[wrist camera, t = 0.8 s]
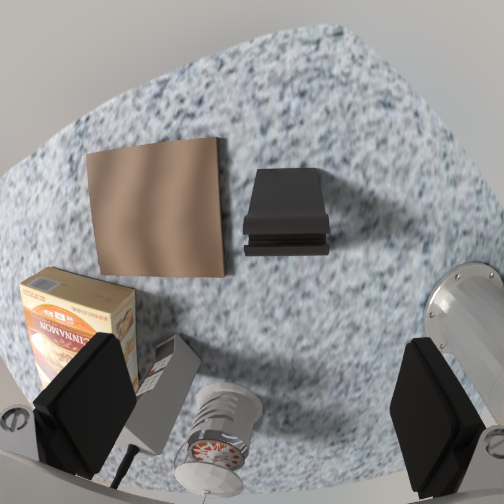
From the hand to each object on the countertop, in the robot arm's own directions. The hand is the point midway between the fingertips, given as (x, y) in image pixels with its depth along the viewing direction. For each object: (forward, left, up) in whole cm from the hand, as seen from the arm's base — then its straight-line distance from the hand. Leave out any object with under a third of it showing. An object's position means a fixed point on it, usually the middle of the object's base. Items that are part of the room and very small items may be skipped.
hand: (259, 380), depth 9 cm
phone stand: (-1, -1, -26) cm, 26 cm away
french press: (+8, +27, -26) cm, 38 cm away
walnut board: (+14, -1, -26) cm, 29 cm away
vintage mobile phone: (+13, +17, -26) cm, 34 cm away
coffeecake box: (+25, +7, -22) cm, 34 cm away
